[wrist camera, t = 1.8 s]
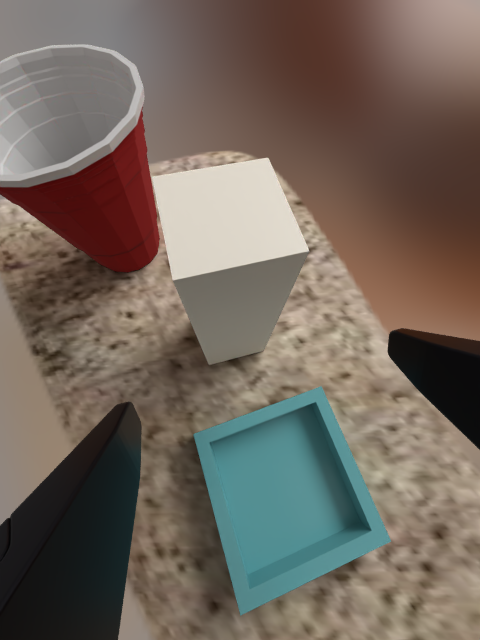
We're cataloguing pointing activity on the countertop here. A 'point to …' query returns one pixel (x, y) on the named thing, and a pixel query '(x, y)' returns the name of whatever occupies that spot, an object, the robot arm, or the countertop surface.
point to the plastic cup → (79, 150)
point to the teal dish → (286, 497)
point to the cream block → (230, 252)
